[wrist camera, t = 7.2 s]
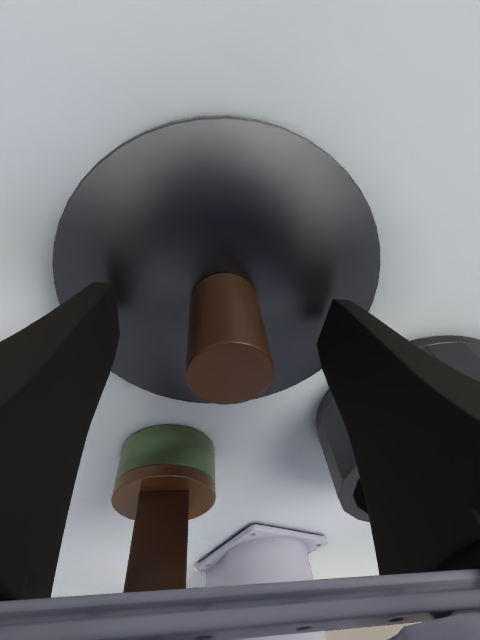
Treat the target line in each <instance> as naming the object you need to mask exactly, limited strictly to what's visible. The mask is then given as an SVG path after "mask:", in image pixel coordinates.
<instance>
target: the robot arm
mask: <svg viewBox="0 0 480 640" xmlns="http://www.w3.org/2000/svg"><path fill="white" fill-rule="evenodd" d="M119 337H120V329H119V319H118V310H117V300H116V290H115V283H105V282H93V283H91V284H90V285H88V286H87V287H85V288H84V289H83V290H81V291H80V292H78V293H77V294H76V295H74V296H73V297H71V298H70V299H69V300H67V301H66V302H64V303H63V304H61V305H60V306H58V307H57V308H55V309H54V310H53V311H51V312H50V313H48V314H47V315H45V316H43V317H42V318H40V319H38V320H37V321H35V322H34V323H32V324H30V325H29V326H27V327H26V328H24V329H22V330H21V331H19V332H17V333H16V334H14V335H12V336H10V337H8V338H7V339H5V340H3V341H1V342H0V640H327V639H326V635H325V631H329V630H340V629H351V628H361V627H372V626H381V625H382V626H383V625H393V624H403V623H414V622H422V623H418V624H413V625H409V626H405V627H403V629H402V630H401V631H400V632H399V633H398V634H397V635H395V636H394V637H392V638H390V639H388V640H480V382H479V381H477V380H475V379H473V378H471V377H469V376H467V375H465V374H463V373H461V372H460V371H458V370H456V369H454V368H452V367H451V366H449V365H447V364H445V363H443V362H442V361H440V360H438V359H437V358H435V357H433V356H432V355H430V354H428V353H427V352H425V351H424V350H422V349H421V348H419V347H417V346H416V345H414V344H413V343H411V342H410V341H408V340H407V339H405V338H404V337H402V336H401V335H400V334H398V333H397V332H395V331H394V330H392V329H391V328H390V327H388V326H387V325H385V324H384V323H383V322H381V321H380V320H378V319H377V318H376V317H374V316H373V315H371V314H370V313H369V312H367V311H366V310H364V309H363V308H361V307H360V306H358V305H357V304H355V303H354V302H352V301H350V300H341V299H333V300H332V302H331V305H330V308H329V311H328V313H327V316H326V319H325V322H324V324H323V327H322V330H321V333H320V335H319V338H318V341H317V343H316V345H317V349H318V354H319V358H320V362H321V366H322V370H323V372H324V375H325V377H326V380H327V383H328V385H329V388H330V390H331V393H332V395H333V397H334V400H335V402H336V405H337V407H338V410H339V412H340V415H341V417H342V420H343V422H344V425H345V428H346V430H347V433H348V436H349V440H350V443H351V447H352V450H353V454H354V457H355V461H356V464H357V468H358V472H359V476H360V480H361V484H362V488H363V492H364V497H365V501H366V506H367V511H368V515H369V520H370V524H371V529H372V535H373V540H374V546H375V551H376V557H377V562H378V569H379V576H364V577H349V578H335V579H320V580H313V575H312V570H311V566H310V561H309V557H308V554H309V553H311V552H312V551H314V550H316V549H318V548H319V547H321V546H323V545H325V544H326V543H327V539H326V537H325V536H320V535H314V534H309V533H303V532H298V531H292V530H287V529H281V528H275V527H270V526H264V525H259V524H254V525H251V526H249V527H248V528H247V529H245V530H244V531H243V532H241V533H240V534H238V535H237V536H236V537H234V538H233V539H232V540H230V541H229V542H227V543H226V544H225V545H223V546H222V547H220V548H219V549H218V550H216V551H215V552H214V553H212V554H211V555H209V556H208V557H207V558H205V559H204V560H203V561H201V562H200V563H198V565H197V570H198V571H205V572H206V587H202V588H188V589H173V590H158V591H144V592H129V593H114V594H100V595H85V596H70V597H56V598H51V592H52V587H53V582H54V577H55V572H56V567H57V562H58V557H59V552H60V547H61V542H62V537H63V533H64V528H65V524H66V519H67V515H68V510H69V506H70V501H71V497H72V493H73V489H74V484H75V480H76V476H77V472H78V468H79V464H80V460H81V456H82V452H83V448H84V445H85V441H86V437H87V433H88V430H89V427H90V424H91V421H92V418H93V416H94V413H95V411H96V408H97V405H98V403H99V400H100V397H101V395H102V392H103V389H104V387H105V384H106V382H107V379H108V376H109V374H110V371H111V368H112V365H113V363H114V359H115V355H116V351H117V346H118V342H119ZM425 621H427V622H425Z"/></svg>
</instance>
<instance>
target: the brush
mask: <svg viewBox="0 0 480 640" xmlns="http://www.w3.org/2000/svg"><path fill="white" fill-rule="evenodd" d="M215 499H216V491H215V454H214V446H213V443H212V442H211V440H210V439H209V438H208V437H207V436H206V435H205V434H203V433H202V432H200V431H198V430H195V429H193V428H189V427H185V426H179V425H159V426H153V427H149V428H145V429H143V430H140V431H138V432H136V433H135V434H133V435H132V436H130V437H129V438H128V439H127V441H126V442H125V443H124V445H123V449H122V453H121V458H120V462H119V467H118V471H117V476H116V480H115V485H114V489H113V494H112V498H111V501H112V505H113V507H114V509H115V510H116V511H117V512H118V513H119V514H121V515H123V516H124V517H127V518H129V519H132V520H135V522H134V528H133V535H132V541H131V547H130V554H129V560H128V566H127V573H126V579H125V585H124V592H123V593H129V592H144V591H158V590H173V589H186V571H187V543H188V520H190V519H193V518H196V517H198V516H200V515H202V514H204V513H205V512H207V511H208V510H209V509H210V508H211V507H212V506H213V504H214V502H215Z"/></svg>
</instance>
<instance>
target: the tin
mask: <svg viewBox="0 0 480 640" xmlns="http://www.w3.org/2000/svg"><path fill="white" fill-rule="evenodd" d="M410 342H411V343H413V344H414V345H416V346H417V347H419V348H421V349H422V350H424V351H425V352H427V353H428V354H430V355H432V356H433V357H435V358H437V359H438V360H440V361H442V362H443V363H445V364H447V365H449V366H451V367H452V368H454V369H456V370H458V371H460V372H461V373H463V374H465V375H467V376H469V377H471V378H473V379H475V380H477V381H479V382H480V340H477V339H474V338H469V337H463V336H437V337H429V338H423V339H418V340H414V341H410ZM316 426H317V431H318V436H319V439H320V443H321V446H322V449H323V452H324V455H325V458H326V461H327V464H328V468H329V471H330V474H331V477H332V480H333V483H334V486H335V490H336V493H337V496H338V499H339V501H340V503H341V505H342V508H343V510H344V511H345V512H347V513H348V514H350V515H352V516H353V517H355V518H356V519H358V520H362V521H366V522H370V520H369V515H368V511H367V506H366V501H365V497H364V492H363V488H362V484H361V480H360V476H359V472H358V468H357V464H356V461H355V457H354V454H353V450H352V447H351V443H350V440H349V436H348V433H347V430H346V428H345V425H344V422H343V420H342V417H341V415H340V412H339V410H338V407H337V405H336V402H335V400H334V397H333V395H332V393H331V390H330V391H329V392H328V393H327V394H326V396H325V398H324V399H323V401H322V403H321V405H320V408H319V410H318V414H317V419H316Z"/></svg>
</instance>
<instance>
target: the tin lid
mask: <svg viewBox="0 0 480 640" xmlns="http://www.w3.org/2000/svg"><path fill="white" fill-rule="evenodd" d="M379 271H380V244H379V239H378V233H377V227H376V224H375V221H374V218H373V215H372V212H371V209H370V207H369V205H368V203H367V201H366V199H365V198H364V196H363V194H362V192H361V190H360V188H359V187H358V186H357V184H356V183H355V182H354V180H353V179H352V178H351V176H350V175H349V174H348V173H347V171H346V170H345V169H344V168H343V167H342V166H341V165H340V164H339V163H337V162H336V161H335V160H334V159H333V158H332V157H331V156H330V155H329V154H328V153H326V152H325V151H323V150H322V149H320V148H319V147H317V146H316V145H315V144H313V143H312V142H310V141H309V140H307V139H305V138H304V137H302V136H299V135H297V134H295V133H293V132H291V131H289V130H287V129H285V128H282V127H280V126H277V125H273V124H270V123H267V122H263V121H260V120H256V119H250V118H243V117H235V116H198V117H193V118H187V119H182V120H176V121H171V122H169V123H166V124H163V125H160V126H157V127H154V128H152V129H149V130H146V131H144V132H142V133H140V134H139V135H137V136H135V137H133V138H131V139H129V140H128V141H126V142H124V143H122V144H121V145H120V146H118V147H117V148H116V149H114V150H113V151H112V152H111V153H109V154H108V155H107V156H105V157H104V158H103V159H102V160H100V161H99V162H98V163H97V164H96V165H95V166H94V167H93V168H92V169H91V171H90V172H89V173H88V174H87V175H86V176H85V177H84V178H83V179H82V180H81V182H80V183H79V185H78V186H77V188H76V189H75V191H74V192H73V194H72V196H71V197H70V199H69V200H68V202H67V205H66V207H65V209H64V211H63V214H62V216H61V218H60V221H59V224H58V228H57V232H56V237H55V241H54V250H53V273H54V284H55V288H56V292H57V296H58V300H59V303H60V305H61V304H63V303H64V302H66V301H67V300H69V299H70V298H71V297H73V296H74V295H76V294H77V293H78V292H80V291H81V290H83V289H84V288H85V287H87V286H88V285H90V284H91V283H93V282H105V283H115V290H116V300H117V310H118V319H119V329H120V337H119V342H118V346H117V351H116V355H115V359H114V363H113V365H112V368H111V371H112V372H113V373H115V374H116V375H118V376H119V377H121V378H123V379H124V380H126V381H127V382H129V383H131V384H134V385H136V386H138V387H140V388H142V389H144V390H147V391H149V392H152V393H155V394H157V395H161V396H165V397H168V398H172V399H177V400H182V401H188V402H198V403H216V404H237V403H242V402H245V401H248V400H252V399H256V398H260V397H264V396H268V395H271V394H274V393H277V392H280V391H282V390H285V389H287V388H289V387H291V386H294V385H296V384H298V383H300V382H301V381H303V380H305V379H307V378H308V377H310V376H312V375H313V374H315V373H316V372H318V371H319V370H320V369H322V366H321V362H320V358H319V354H318V349H317V345H316V343H317V341H318V338H319V335H320V333H321V330H322V327H323V324H324V322H325V319H326V316H327V313H328V311H329V308H330V305H331V302H332V300H333V299H341V300H350V301H352V302H354V303H355V304H357V305H358V306H360V307H361V308H363V309H364V310H366V311H367V312H368V311H369V309H370V307H371V304H372V302H373V299H374V296H375V292H376V288H377V285H378V278H379Z"/></svg>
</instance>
